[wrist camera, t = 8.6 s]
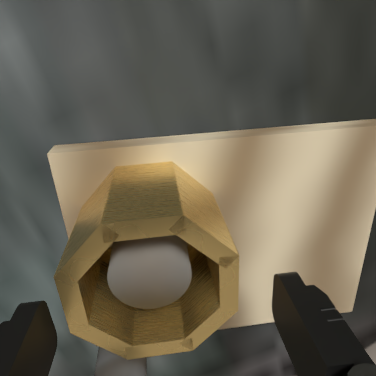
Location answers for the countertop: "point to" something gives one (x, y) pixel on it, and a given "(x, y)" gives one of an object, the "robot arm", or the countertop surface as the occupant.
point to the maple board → (241, 213)
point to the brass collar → (138, 229)
